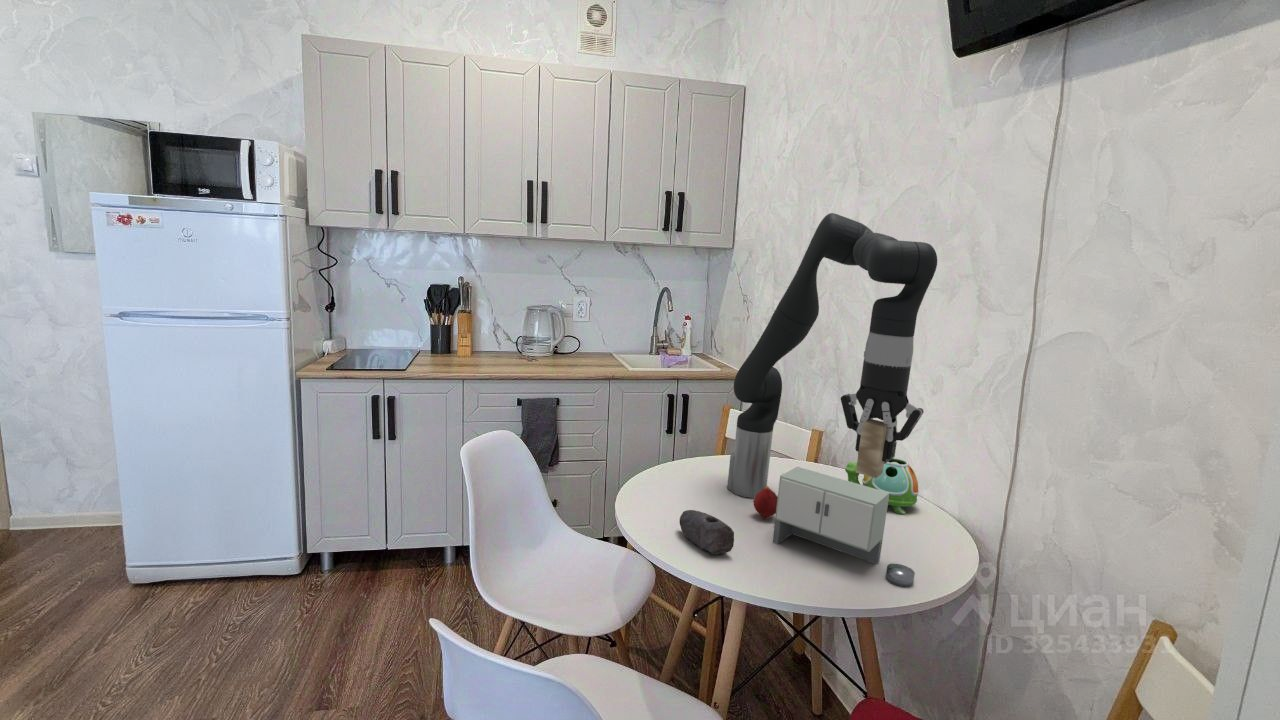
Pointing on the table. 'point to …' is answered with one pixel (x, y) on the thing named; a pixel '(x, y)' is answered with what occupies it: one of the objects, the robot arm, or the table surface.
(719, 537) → the perforated stone tool
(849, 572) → the table surface
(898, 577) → the steel puck
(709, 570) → the table surface
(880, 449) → the blade tool
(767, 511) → the onion
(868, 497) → the cabinet
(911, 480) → the turtle holder
